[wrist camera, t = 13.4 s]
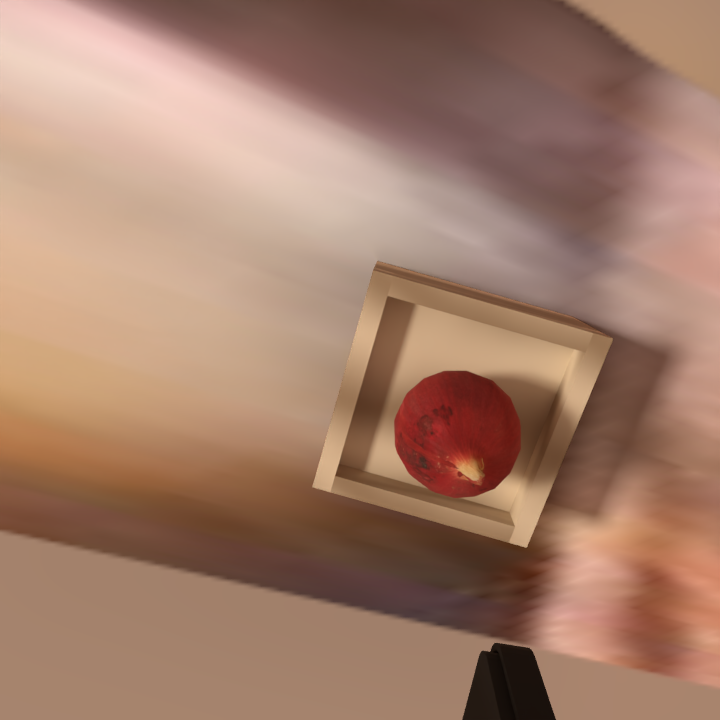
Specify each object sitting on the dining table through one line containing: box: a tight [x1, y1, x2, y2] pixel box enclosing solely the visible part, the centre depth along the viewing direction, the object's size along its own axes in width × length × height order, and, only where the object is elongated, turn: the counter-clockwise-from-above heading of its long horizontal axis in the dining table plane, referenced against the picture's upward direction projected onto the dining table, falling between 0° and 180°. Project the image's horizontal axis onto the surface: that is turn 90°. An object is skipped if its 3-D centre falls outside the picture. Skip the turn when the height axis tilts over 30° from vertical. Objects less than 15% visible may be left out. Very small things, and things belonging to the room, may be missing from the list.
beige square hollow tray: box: [313, 261, 613, 548], centre depth 30 cm, size 12×12×6 cm
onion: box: [394, 371, 521, 498], centre depth 25 cm, size 6×6×8 cm
